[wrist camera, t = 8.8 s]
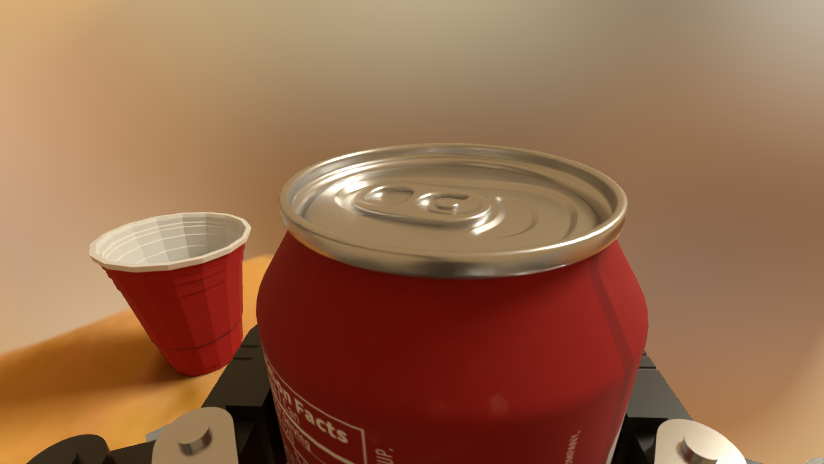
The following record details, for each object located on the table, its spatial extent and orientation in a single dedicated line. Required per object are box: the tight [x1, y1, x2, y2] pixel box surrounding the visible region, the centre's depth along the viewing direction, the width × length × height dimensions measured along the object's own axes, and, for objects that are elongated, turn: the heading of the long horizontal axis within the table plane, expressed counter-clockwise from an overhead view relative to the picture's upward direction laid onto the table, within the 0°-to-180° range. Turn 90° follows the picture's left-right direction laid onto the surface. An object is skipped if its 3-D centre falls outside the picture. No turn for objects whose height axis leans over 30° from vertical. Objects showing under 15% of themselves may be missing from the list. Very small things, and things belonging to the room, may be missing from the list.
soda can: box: [256, 143, 648, 464], centre depth 9 cm, size 7×7×12 cm
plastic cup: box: [89, 212, 251, 376], centre depth 33 cm, size 11×11×12 cm
